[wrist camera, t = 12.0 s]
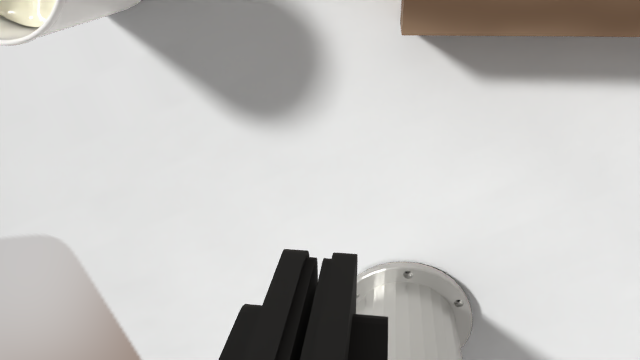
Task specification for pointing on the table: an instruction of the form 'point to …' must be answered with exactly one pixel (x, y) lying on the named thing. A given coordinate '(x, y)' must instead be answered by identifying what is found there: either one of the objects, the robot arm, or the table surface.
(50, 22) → the candle holder
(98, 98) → the table surface
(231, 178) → the table surface
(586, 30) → the brown slab
